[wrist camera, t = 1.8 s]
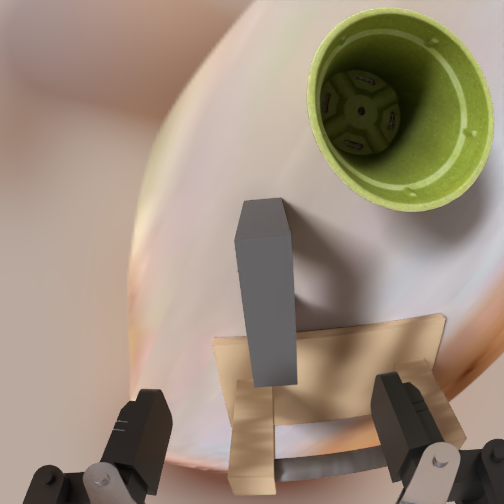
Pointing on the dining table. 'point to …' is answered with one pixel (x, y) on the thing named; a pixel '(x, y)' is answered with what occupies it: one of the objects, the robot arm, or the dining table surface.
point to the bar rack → (325, 396)
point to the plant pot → (400, 109)
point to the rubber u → (267, 291)
